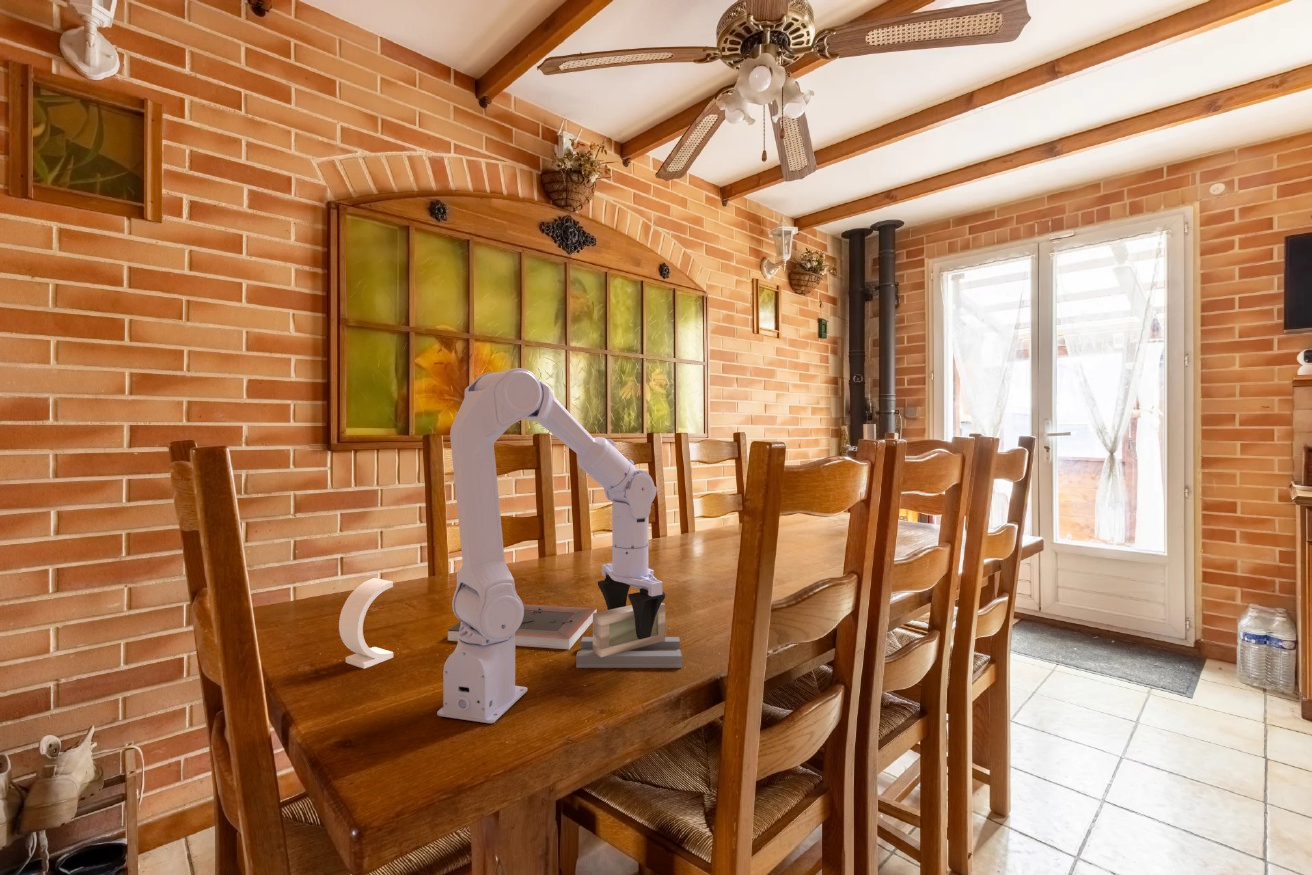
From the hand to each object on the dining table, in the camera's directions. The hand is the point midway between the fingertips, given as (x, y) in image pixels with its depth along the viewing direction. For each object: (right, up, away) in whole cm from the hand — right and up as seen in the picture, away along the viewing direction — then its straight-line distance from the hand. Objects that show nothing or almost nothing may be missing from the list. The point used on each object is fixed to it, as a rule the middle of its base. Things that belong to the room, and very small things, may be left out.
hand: (630, 630), depth 92 cm
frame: (0, -3, 0) cm, 3 cm away
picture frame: (-19, -5, +13) cm, 24 cm away
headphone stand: (-41, -4, -2) cm, 41 cm away
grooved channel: (0, -4, 0) cm, 4 cm away
